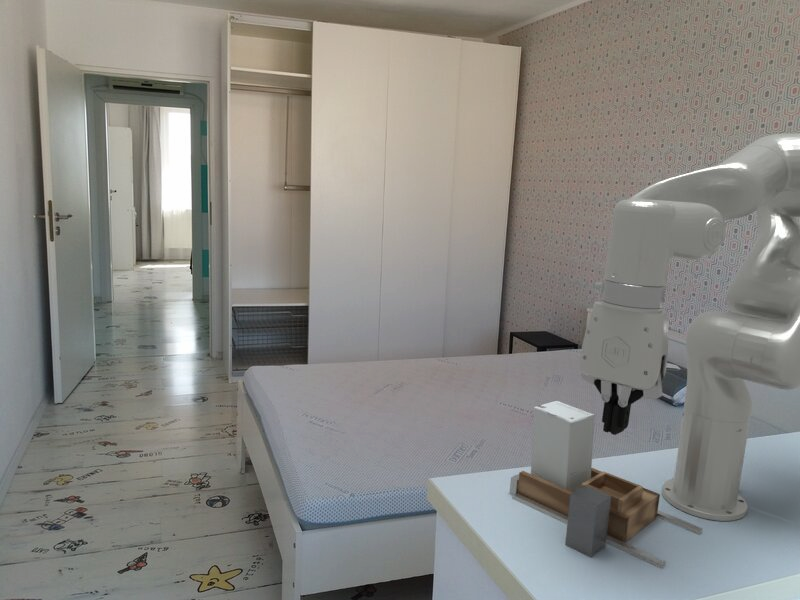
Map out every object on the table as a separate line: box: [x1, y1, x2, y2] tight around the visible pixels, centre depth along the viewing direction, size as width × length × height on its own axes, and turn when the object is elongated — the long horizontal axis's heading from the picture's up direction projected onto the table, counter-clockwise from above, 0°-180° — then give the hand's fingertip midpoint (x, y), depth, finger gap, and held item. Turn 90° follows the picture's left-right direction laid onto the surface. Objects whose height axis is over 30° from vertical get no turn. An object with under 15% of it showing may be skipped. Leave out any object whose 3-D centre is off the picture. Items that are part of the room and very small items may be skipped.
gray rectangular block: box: [565, 485, 611, 558], centre depth 89 cm, size 4×4×8 cm
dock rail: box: [509, 473, 704, 570], centre depth 98 cm, size 14×26×3 cm, turn 44°
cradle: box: [518, 467, 661, 543], centre depth 100 cm, size 11×18×6 cm, turn 44°
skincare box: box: [530, 400, 596, 492], centre depth 103 cm, size 8×6×15 cm
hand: (613, 430), depth 85 cm, fingers closed
